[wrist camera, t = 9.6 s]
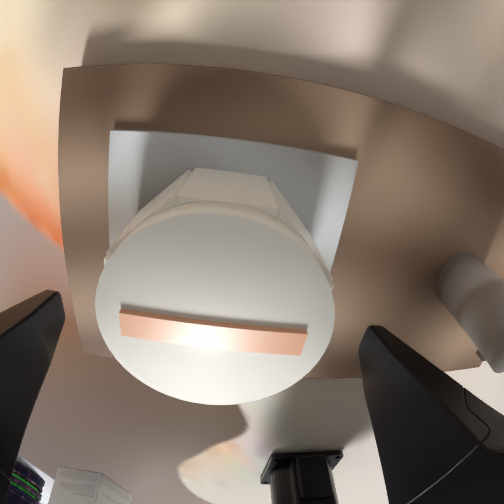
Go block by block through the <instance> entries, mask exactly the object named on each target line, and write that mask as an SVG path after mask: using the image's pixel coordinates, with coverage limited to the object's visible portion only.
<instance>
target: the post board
mask: <svg viewBox="0 0 504 504" xmlns="http://www.w3.org/2000/svg"><path fill="white" fill-rule="evenodd" d="M195 167H197V168H206V169H214V170H222V171H230V172H238V173H245V174H252V175H259V176H266V177H267V179H268V182H269V181H270V180H272V181H273V182H274V183H275V185H276V186H277V188H278V189H279V190H280V192H281V193H282V194H283V196H284V197H285V199H286V200H287V201H288V203H289V204H290V205H291V207H292V208H293V210H294V211H295V212H296V214H297V215H298V217H299V218H300V220H301V221H302V222H303V224H304V225H305V227H306V228H307V229H308V231H309V232H310V234H311V236H312V238H313V240H314V242H315V244H316V246H317V248H318V250H319V252H320V254H321V256H322V258H323V260H324V263H325V265H326V267H327V269H328V271H329V273H330V275H331V277H332V279H333V280H332V284H333V286H334V287H333V290H332V295H333V300H334V305H335V321H334V329H333V333H332V336H331V339H330V342H329V344H328V346H327V348H326V350H325V352H324V354H323V355H322V357H321V358H320V360H319V361H318V363H317V364H316V365H315V366H314V367H313V368H312V369H311V371H310V372H308V373H307V374H306V375H305V376H304V377H303V378H362V375H361V368H360V362H359V356H358V347H359V344H360V342H361V340H362V337H363V335H364V333H365V331H366V328H367V327H368V326H370V325H381V326H383V327H384V328H386V329H387V330H388V331H390V332H391V333H392V334H394V335H395V336H396V337H398V338H399V339H400V340H402V341H403V342H404V343H406V344H407V345H408V346H410V347H411V348H412V349H414V350H415V351H416V352H418V353H419V354H420V355H422V356H423V357H424V358H426V359H427V360H428V361H430V362H431V363H432V364H434V365H435V366H436V367H438V368H439V369H440V370H442V371H443V372H445V371H453V370H461V369H468V368H475V367H479V366H480V365H481V363H482V362H483V361H487V362H488V364H489V365H490V367H491V368H492V369H493V371H494V372H496V373H502V372H504V150H503V149H501V148H499V147H497V146H495V145H493V144H491V143H489V142H487V141H485V140H483V139H480V138H478V137H476V136H474V135H472V134H470V133H467V132H465V131H463V130H461V129H458V128H456V127H454V126H451V125H449V124H446V123H444V122H441V121H439V120H436V119H434V118H431V117H429V116H426V115H423V114H421V113H418V112H415V111H412V110H410V109H407V108H404V107H401V106H398V105H395V104H392V103H389V102H386V101H382V100H379V99H376V98H372V97H369V96H366V95H362V94H358V93H355V92H351V91H347V90H343V89H339V88H335V87H331V86H327V85H323V84H318V83H314V82H309V81H304V80H299V79H294V78H289V77H283V76H278V75H271V74H265V73H259V72H251V71H244V70H236V69H227V68H217V67H205V66H191V65H171V64H116V65H96V66H82V67H71V68H64V69H63V78H62V88H61V99H60V114H59V139H58V172H59V198H60V213H61V225H62V235H63V245H64V253H65V260H66V268H67V274H68V281H69V287H70V292H71V298H72V303H73V308H74V313H75V318H76V323H77V327H78V331H79V336H80V340H81V344H82V348H83V352H86V353H90V354H95V355H100V356H105V357H110V358H115V357H114V355H113V354H112V353H111V351H110V350H109V348H108V346H107V345H106V343H105V341H104V339H103V337H102V335H101V332H100V329H99V327H98V322H97V318H96V311H95V296H96V288H97V285H98V281H99V277H100V275H101V273H102V271H103V269H104V258H105V257H106V255H107V253H106V252H107V251H108V250H109V248H110V247H111V246H112V244H113V243H114V242H115V241H116V239H117V238H118V237H119V235H120V234H121V233H122V232H123V230H124V229H125V228H126V227H127V225H128V224H129V223H130V222H131V220H132V219H133V218H134V217H135V215H136V214H137V213H138V212H139V211H140V210H141V209H142V208H143V207H144V206H145V205H147V204H148V203H149V202H150V201H151V200H152V199H154V198H155V197H156V196H157V195H158V194H160V193H161V192H162V191H163V190H164V189H166V188H167V187H168V186H169V185H170V184H172V183H173V182H174V181H175V180H176V179H178V178H179V177H180V176H181V175H183V174H184V173H185V172H186V171H188V170H189V169H190V170H191V171H192V172H193V170H194V169H195ZM115 359H116V358H115Z"/></svg>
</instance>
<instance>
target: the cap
mask: <svg viewBox="0 0 504 504" xmlns="http://www.w3.org/2000/svg"><path fill="white" fill-rule="evenodd" d="M106 253H107V255H106V257H105V258H104V269H103V271H102V273H101V275H100V277H99V281H98V285H97V288H96V296H95V311H96V318H97V322H98V327H99V329H100V332H101V335H102V337H103V339H104V341H105V343H106V345H107V346H108V348H109V350H110V351H111V353H112V354H113V355H114V357H115V358H116V359H117V360H118V361H119V363H120V364H121V365H122V366H123V367H124V368H125V369H126V370H127V371H129V372H130V373H131V374H132V375H133V376H134V377H136V378H137V379H139V380H140V381H142V382H143V383H144V384H146V385H148V386H150V387H152V388H153V389H155V390H157V391H160V392H162V393H164V394H166V395H169V396H172V397H175V398H178V399H181V400H185V401H189V402H194V403H201V404H211V405H232V404H241V403H247V402H252V401H256V400H260V399H263V398H266V397H269V396H272V395H274V394H276V393H279V392H281V391H283V390H285V389H286V388H288V387H290V386H292V385H293V384H295V383H296V382H297V381H299V380H300V379H302V378H303V377H304V376H305V375H306V374H307V373H308V372H310V371H311V369H312V368H313V367H314V366H315V365H316V364H317V363H318V361H319V360H320V358H321V357H322V355H323V354H324V352H325V350H326V348H327V346H328V344H329V342H330V339H331V336H332V333H333V329H334V321H335V305H334V300H333V295H332V290H333V287H334V286H333V284H332V280H333V279H332V277H331V275H330V273H329V271H328V269H327V267H326V265H325V263H324V260H323V258H322V256H321V254H320V252H319V250H318V248H317V246H316V244H315V242H314V240H313V238H312V236H311V234H310V232H309V231H308V229H307V228H306V227H305V225H304V224H303V222H302V221H301V220H300V218H299V217H298V215H297V214H296V212H295V211H294V210H293V208H292V207H291V205H290V204H289V203H288V201H287V200H286V199H285V197H284V196H283V194H282V193H281V192H280V190H279V189H278V188H277V186H276V185H275V183H274V182H273V181H272V180H270V181H269V182H268V179H267V177H266V176H259V175H252V174H245V173H238V172H230V171H222V170H214V169H206V168H197V167H195V169H194V170H193V172H192V171H191V170H190V169H189V170H188V171H186V172H185V173H184V174H183V175H181V176H180V177H179V178H178V179H176V180H175V181H174V182H173V183H172V184H170V185H169V186H168V187H167V188H166V189H164V190H163V191H162V192H161V193H160V194H158V195H157V196H156V197H155V198H154V199H152V200H151V201H150V202H149V203H148V204H147V205H145V206H144V207H143V208H142V209H141V210H140V211H139V212H138V213H137V214H136V215H135V217H134V218H133V219H132V220H131V222H130V223H129V224H128V225H127V227H126V228H125V229H124V230H123V232H122V233H121V234H120V235H119V237H118V238H117V239H116V241H115V242H114V243H113V244H112V246H111V247H110V248H109V250H108V251H107V252H106Z"/></svg>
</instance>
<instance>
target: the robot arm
mask: <svg viewBox="0 0 504 504" xmlns="http://www.w3.org/2000/svg"><path fill="white" fill-rule="evenodd" d="M64 321H65V312H64V308H63V303H62V299H61V295H60V293H59V292H58V291H54V290H45V291H43V292H41V293H39V294H37V295H35V296H33V297H31V298H29V299H27V300H25V301H23V302H21V303H19V304H17V305H15V306H13V307H11V308H9V309H7V310H5V311H3V312H1V313H0V504H5V503H6V499H7V494H8V490H9V486H10V482H11V481H10V480H11V477H12V473H13V470H14V466H15V463H16V459H17V456H18V452H19V449H20V445H21V442H22V439H23V436H24V433H25V430H26V427H27V424H28V421H29V418H30V416H31V412H32V410H33V407H34V404H35V402H36V399H37V397H38V394H39V391H40V389H41V386H42V384H43V381H44V379H45V376H46V374H47V372H48V369H49V367H50V364H51V361H52V358H53V355H54V352H55V349H56V346H57V342H58V340H59V336H60V333H61V331H62V328H63V325H64ZM358 356H359V362H360V368H361V375H362V381H363V388H364V394H365V399H366V403H367V407H368V411H369V415H370V419H371V423H372V427H373V431H374V435H375V439H376V444H377V448H378V452H379V457H380V461H381V466H382V471H383V475H384V480H385V485H386V490H387V495H388V500H389V504H504V415H502V414H501V413H499V412H498V411H496V410H495V409H493V408H492V407H490V406H489V405H487V404H486V403H484V402H483V401H482V400H480V399H479V398H477V397H476V396H475V395H473V394H472V393H471V392H469V391H468V390H467V389H466V388H463V386H462V385H460V384H459V383H458V382H456V381H455V380H454V379H452V378H451V377H450V376H448V375H447V374H446V373H444V372H443V371H442V370H440V369H439V368H438V367H436V366H435V365H434V364H432V363H431V362H430V361H428V360H427V359H426V358H424V357H423V356H422V355H420V354H419V353H418V352H416V351H415V350H414V349H412V348H411V347H410V346H408V345H407V344H406V343H404V342H403V341H402V340H400V339H399V338H398V337H396V336H395V335H394V334H392V333H391V332H390V331H388V330H387V329H386V328H384V327H383V326H381V325H370V326H368V327H367V328H366V331H365V333H364V335H363V337H362V340H361V342H360V344H359V347H358ZM342 457H343V452H342V451H335V452H322V453H304V454H275V455H272V456H271V458H270V460H269V462H268V464H267V466H266V469H265V471H264V473H263V475H262V477H261V479H260V482H261V484H270V487H271V499H272V504H338V499H337V494H336V489H335V484H334V479H333V474H332V470H333V468H334V467H335V466H336V465H337V464H338V462H339V461H340V460H341V459H342Z"/></svg>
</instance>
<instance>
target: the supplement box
mask: <svg viewBox="0 0 504 504" xmlns="http://www.w3.org/2000/svg"><path fill="white" fill-rule="evenodd" d="M132 497H133V495H132V494H130V493H129V492H127V491H126V490H124V489H123V488H122V487H120V486H119V485H117V484H116V483H115V482H113V481H112V480H111V479H109V478H108V477H107V476H105V475H104V474H102V473H98V472H91V471H84V470H79V469H72V468H66V467H59V468H58V470H57V474H56V477H55V481H54V484H53V488H52V491H51V495H50V499H49V503H48V504H131V503H132Z"/></svg>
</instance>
